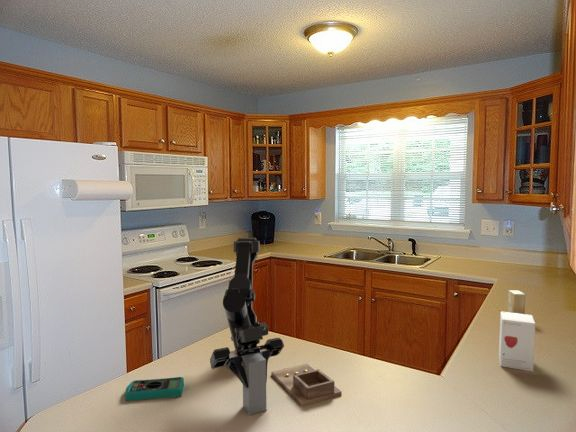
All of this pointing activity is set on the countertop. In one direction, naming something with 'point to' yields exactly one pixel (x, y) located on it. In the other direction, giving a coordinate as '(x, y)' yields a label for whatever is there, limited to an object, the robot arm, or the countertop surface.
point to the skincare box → (516, 302)
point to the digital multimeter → (154, 388)
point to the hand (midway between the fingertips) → (256, 385)
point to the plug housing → (254, 383)
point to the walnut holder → (306, 384)
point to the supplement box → (517, 341)
